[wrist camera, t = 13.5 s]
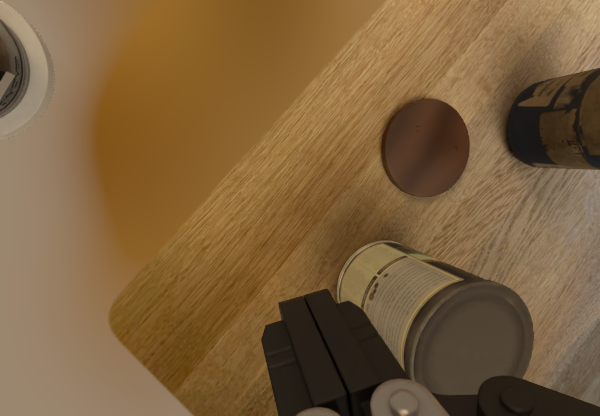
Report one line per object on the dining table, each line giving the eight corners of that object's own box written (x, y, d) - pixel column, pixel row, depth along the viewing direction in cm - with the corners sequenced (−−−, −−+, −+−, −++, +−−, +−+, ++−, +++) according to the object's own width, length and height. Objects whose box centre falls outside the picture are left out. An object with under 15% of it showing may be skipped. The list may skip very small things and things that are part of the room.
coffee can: (421, 232, 39) (537, 271, 26) (423, 321, 41) (533, 402, 27) (332, 245, 37) (409, 296, 23) (337, 340, 38) (412, 439, 25)
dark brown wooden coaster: (366, 175, 37) (370, 175, 36) (404, 83, 36) (408, 81, 36) (442, 209, 40) (447, 210, 39) (477, 124, 39) (483, 124, 39)
